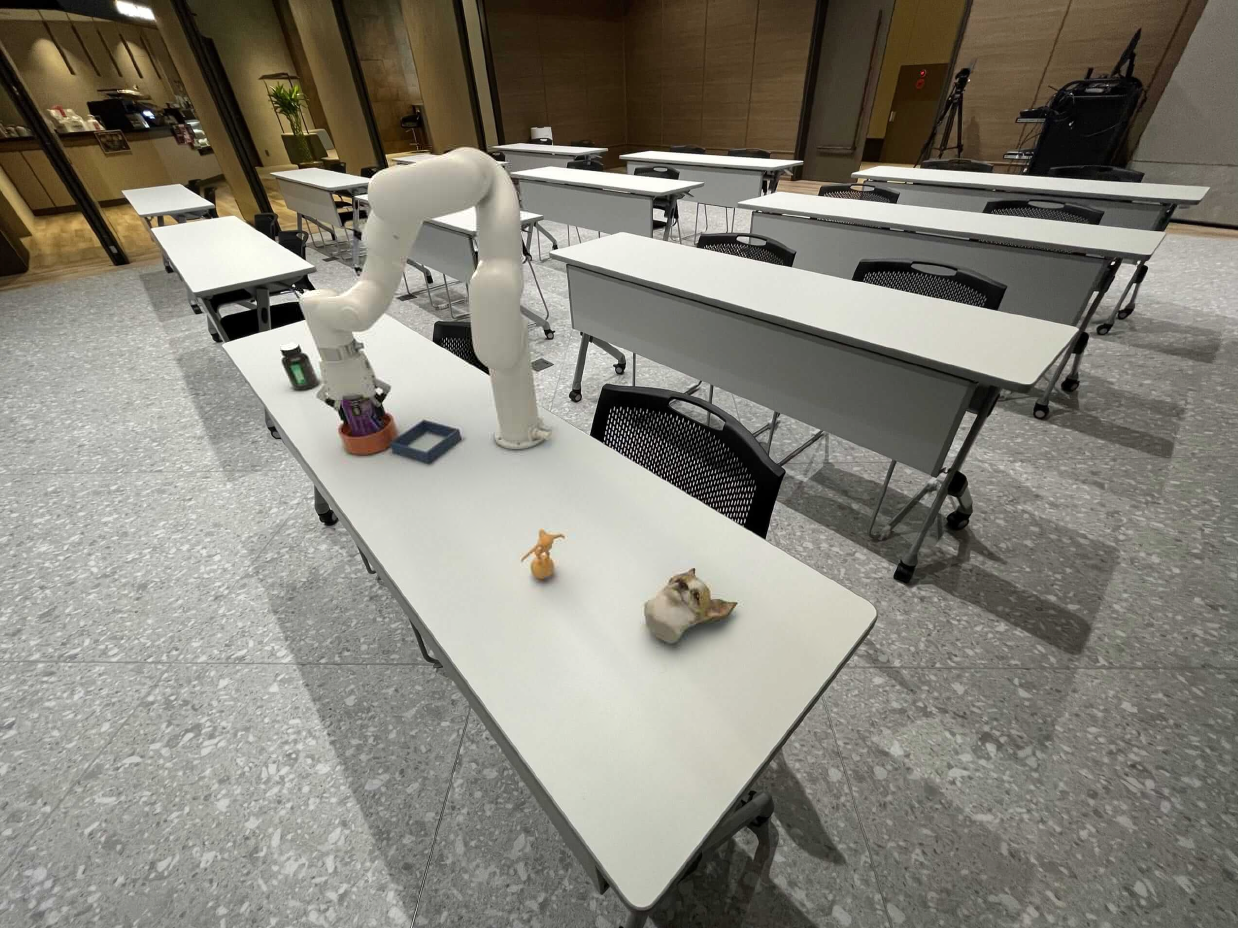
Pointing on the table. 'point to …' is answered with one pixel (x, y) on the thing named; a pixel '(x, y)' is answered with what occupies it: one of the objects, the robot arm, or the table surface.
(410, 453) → the blue square frame
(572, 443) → the table surface
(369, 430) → the beverage can
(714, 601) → the ceramic sculpture
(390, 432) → the bowl
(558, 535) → the figurine
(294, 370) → the supplement bottle
